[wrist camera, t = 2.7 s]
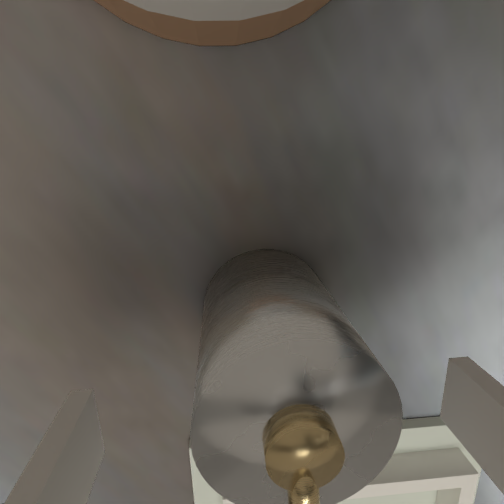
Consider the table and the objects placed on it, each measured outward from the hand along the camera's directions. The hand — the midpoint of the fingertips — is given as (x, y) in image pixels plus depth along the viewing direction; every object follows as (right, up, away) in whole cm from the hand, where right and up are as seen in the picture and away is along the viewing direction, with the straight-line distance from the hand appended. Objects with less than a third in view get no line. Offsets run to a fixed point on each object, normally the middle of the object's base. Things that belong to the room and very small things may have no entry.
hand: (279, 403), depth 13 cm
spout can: (0, +2, +7) cm, 8 cm away
